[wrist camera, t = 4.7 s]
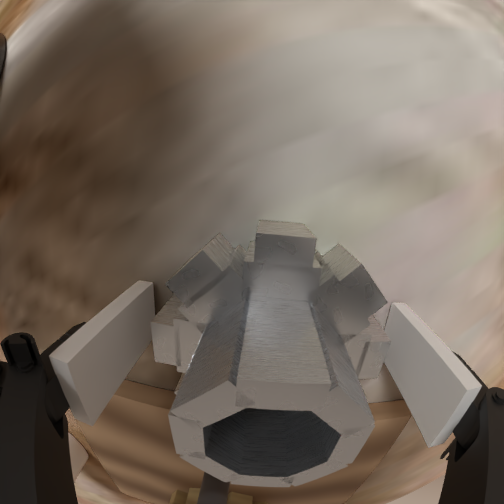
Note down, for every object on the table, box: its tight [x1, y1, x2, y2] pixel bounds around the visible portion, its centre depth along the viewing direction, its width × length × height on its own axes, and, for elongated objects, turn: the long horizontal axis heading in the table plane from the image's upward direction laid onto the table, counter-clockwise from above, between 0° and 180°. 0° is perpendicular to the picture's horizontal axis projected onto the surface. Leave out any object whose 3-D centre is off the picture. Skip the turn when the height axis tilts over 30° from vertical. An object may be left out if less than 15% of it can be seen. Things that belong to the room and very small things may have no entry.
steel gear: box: [150, 220, 391, 487], centre depth 9 cm, size 9×9×7 cm
